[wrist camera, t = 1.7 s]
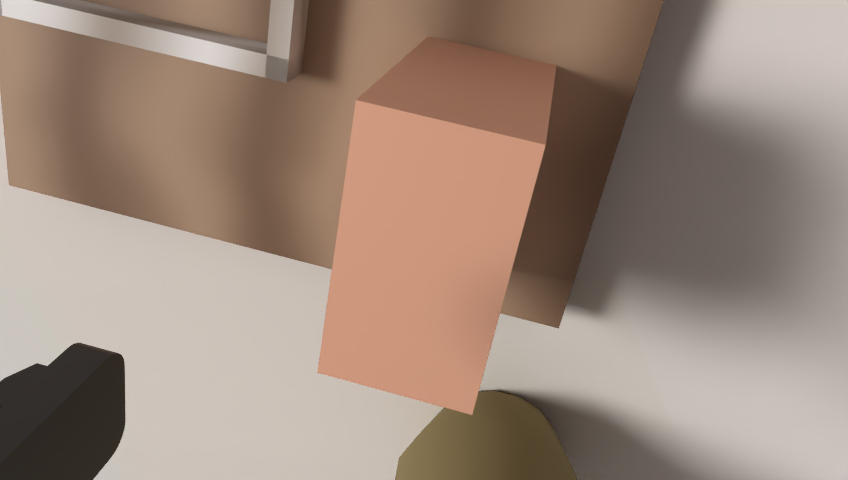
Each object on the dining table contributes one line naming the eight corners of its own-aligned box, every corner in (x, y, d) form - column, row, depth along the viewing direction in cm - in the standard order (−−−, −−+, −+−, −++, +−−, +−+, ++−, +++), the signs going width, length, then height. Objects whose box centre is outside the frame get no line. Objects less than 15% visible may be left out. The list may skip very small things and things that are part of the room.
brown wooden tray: (692, -119, 23) (711, -122, 20) (559, 303, 30) (557, 348, 27) (11, -254, 25) (-69, -276, 22) (40, 169, 32) (-17, 197, 29)
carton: (556, 65, 24) (545, 144, 16) (502, 268, 28) (472, 414, 20) (424, 35, 25) (350, 98, 17) (388, 238, 28) (313, 371, 20)
